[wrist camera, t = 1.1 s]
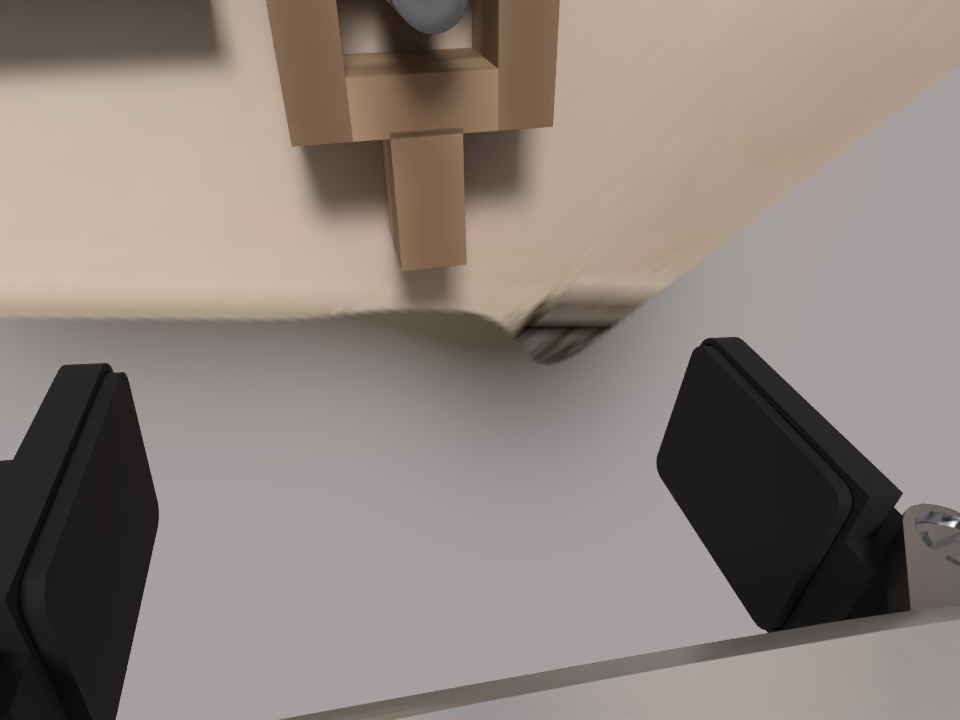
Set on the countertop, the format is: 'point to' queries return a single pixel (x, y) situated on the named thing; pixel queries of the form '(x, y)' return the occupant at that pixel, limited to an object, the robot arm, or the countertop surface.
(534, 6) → the wooden frame with stub
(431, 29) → the grey metallic cylinder
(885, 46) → the countertop surface
